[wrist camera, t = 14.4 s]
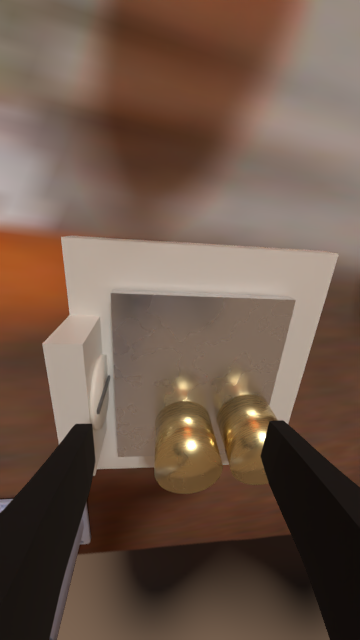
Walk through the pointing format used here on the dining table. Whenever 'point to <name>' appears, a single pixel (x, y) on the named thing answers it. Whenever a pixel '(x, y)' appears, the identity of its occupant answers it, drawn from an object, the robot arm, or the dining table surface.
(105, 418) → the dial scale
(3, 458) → the dining table surface
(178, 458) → the brass weight
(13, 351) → the dining table surface
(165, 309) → the scale pan
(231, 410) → the brass weight
